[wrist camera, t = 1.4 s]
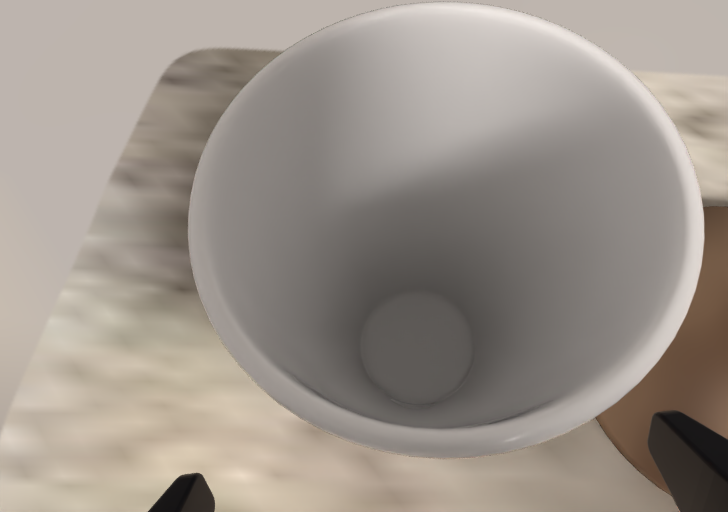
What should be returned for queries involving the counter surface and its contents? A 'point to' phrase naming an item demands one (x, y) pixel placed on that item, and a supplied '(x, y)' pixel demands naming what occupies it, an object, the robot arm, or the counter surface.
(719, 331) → the walnut coaster
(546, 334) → the white tapered cylinder
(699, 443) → the robot arm
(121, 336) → the counter surface
